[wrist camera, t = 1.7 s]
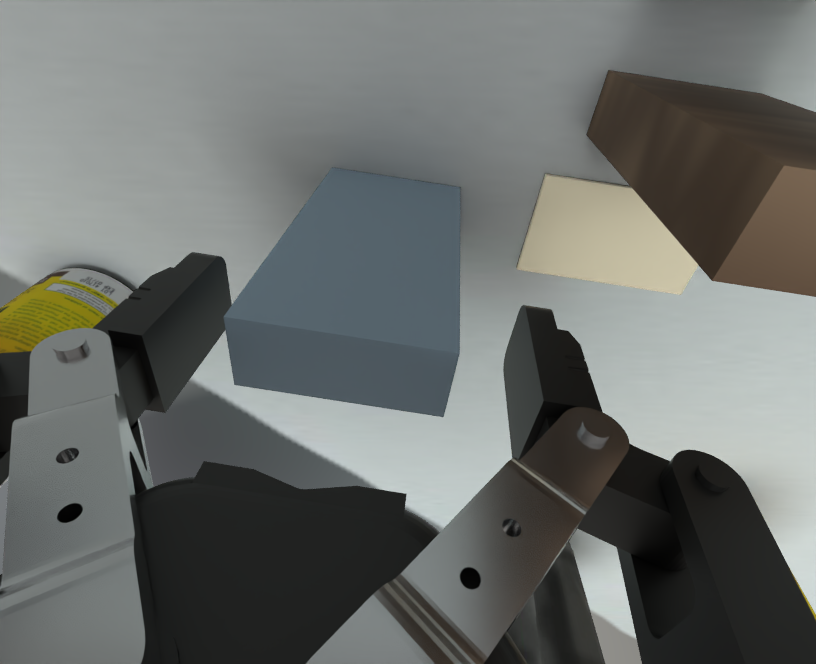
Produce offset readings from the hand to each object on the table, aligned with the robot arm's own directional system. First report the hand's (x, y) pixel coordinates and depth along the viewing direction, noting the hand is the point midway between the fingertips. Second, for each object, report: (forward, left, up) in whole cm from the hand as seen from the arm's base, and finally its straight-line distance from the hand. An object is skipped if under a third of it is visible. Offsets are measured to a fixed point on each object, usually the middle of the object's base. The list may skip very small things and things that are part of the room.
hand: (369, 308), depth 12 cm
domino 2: (-5, +9, -7) cm, 12 cm away
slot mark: (0, +9, -7) cm, 11 cm away
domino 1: (0, 0, -7) cm, 7 cm away
